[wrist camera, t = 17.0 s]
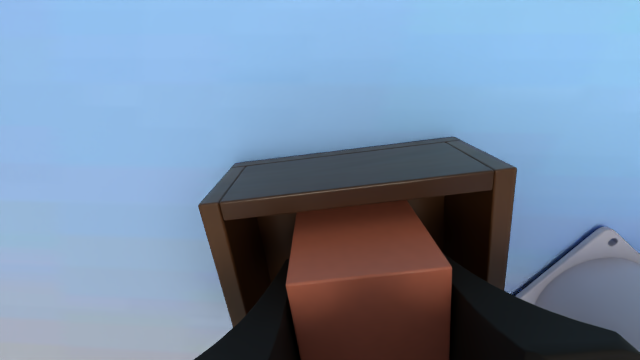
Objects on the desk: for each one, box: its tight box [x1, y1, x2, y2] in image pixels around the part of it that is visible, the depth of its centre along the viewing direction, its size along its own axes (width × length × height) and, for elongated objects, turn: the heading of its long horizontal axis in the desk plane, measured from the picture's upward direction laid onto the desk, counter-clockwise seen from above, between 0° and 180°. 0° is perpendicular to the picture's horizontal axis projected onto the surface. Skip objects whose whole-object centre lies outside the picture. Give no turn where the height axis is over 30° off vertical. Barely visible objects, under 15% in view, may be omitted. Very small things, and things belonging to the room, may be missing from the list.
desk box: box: [198, 137, 517, 360], centre depth 15 cm, size 11×12×5 cm
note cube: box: [286, 200, 452, 360], centre depth 12 cm, size 5×5×5 cm
